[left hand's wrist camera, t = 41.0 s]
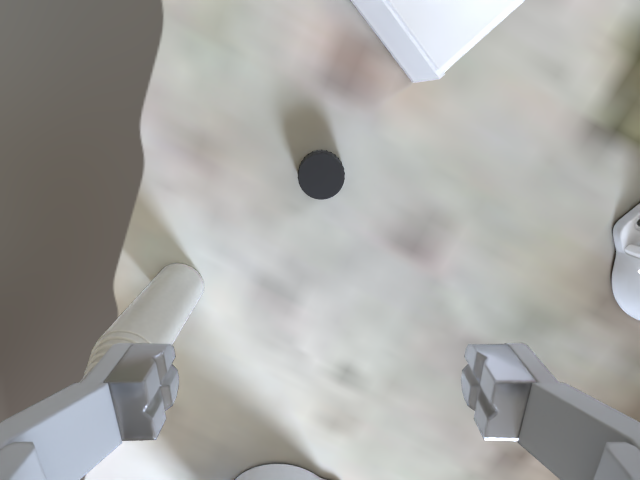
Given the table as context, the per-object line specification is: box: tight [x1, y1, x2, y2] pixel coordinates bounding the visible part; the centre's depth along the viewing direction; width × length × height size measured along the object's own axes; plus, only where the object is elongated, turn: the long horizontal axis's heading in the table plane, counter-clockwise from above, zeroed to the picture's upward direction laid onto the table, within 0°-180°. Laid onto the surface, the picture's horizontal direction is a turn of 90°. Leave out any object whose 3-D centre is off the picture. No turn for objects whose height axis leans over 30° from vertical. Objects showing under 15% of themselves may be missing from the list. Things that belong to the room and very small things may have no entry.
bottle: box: [79, 263, 204, 383], centre depth 33 cm, size 5×5×18 cm
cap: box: [298, 150, 345, 199], centre depth 36 cm, size 4×4×2 cm
